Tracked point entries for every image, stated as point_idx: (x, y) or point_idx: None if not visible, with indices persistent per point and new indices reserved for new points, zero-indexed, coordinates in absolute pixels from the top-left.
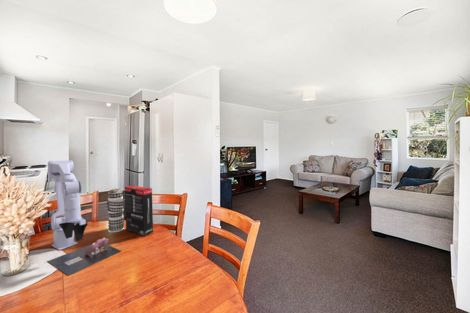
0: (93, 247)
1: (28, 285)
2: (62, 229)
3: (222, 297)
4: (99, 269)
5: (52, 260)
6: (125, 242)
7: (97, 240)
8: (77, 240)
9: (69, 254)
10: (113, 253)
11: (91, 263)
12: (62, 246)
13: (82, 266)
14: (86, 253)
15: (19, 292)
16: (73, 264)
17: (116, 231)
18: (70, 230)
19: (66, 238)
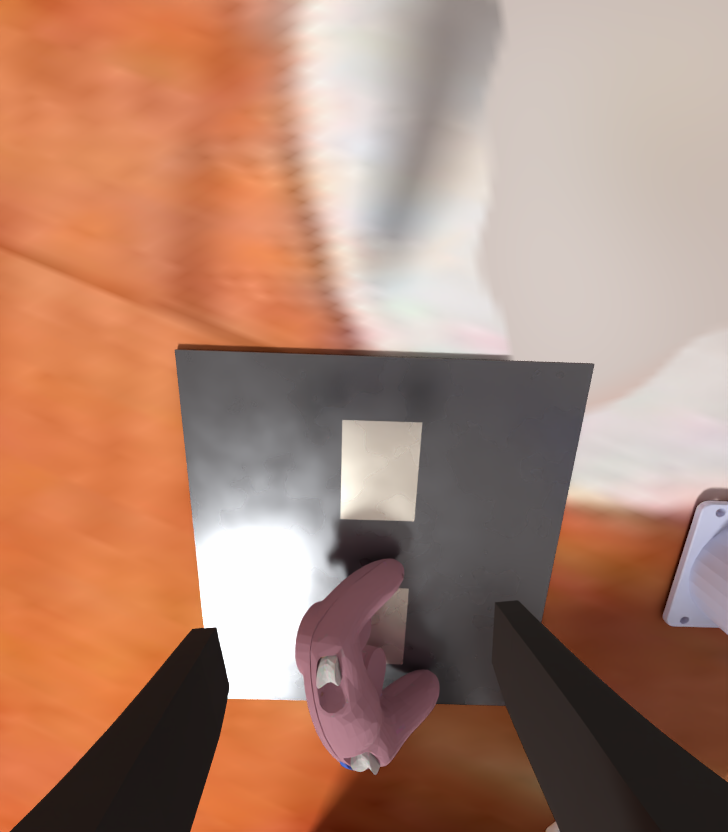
0: (303, 639)
1: (301, 104)
2: (715, 777)
3: None
4: (78, 503)
5: (561, 391)
6: (323, 767)
7: (350, 724)
8: (186, 641)
9: (529, 504)
10: (224, 656)
11: (211, 517)
12: (725, 537)
13: (222, 464)
14: (370, 568)
15: (244, 11)
16: (321, 445)
17: (556, 830)
18: (562, 795)
19: (510, 601)
